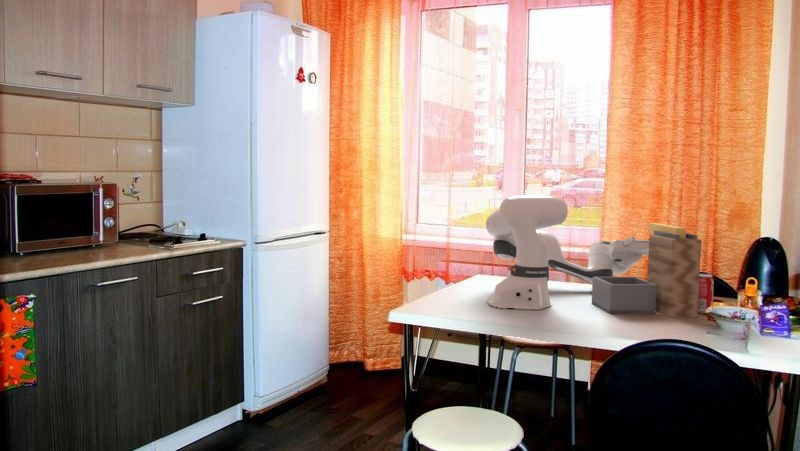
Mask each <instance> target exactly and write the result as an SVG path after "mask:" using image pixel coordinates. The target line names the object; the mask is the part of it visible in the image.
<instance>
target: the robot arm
mask: <svg viewBox="0 0 800 451" xmlns="http://www.w3.org/2000/svg"><path fill="white" fill-rule="evenodd" d="M568 212H569V210H568V205H567V203H566V201H565V200H564V198H563V199H562V197H557V196H552V195H514V196H510V197H505V198H504V199H503V200H502V202H501V203H500V206H499V208H498V209H496V210H494V212H492V213H491V214H490V215H489V216H488V217H487V218H486V221H485V229H486V230H487V232H488V233H489V235H491V236H494V241H493V243H492V245H493V246H492V247H493V253H494V255H495V256H496V257H497V258H500V259H502V260H507V261H508V260H515V262H516V263H515V264H513V265H512V264H508V265H507V266H506V269H507V270H508V271H509V272H510V275H508V276H507V277H506V278H504V279H503V280H501V281H500V282H499V283H497V284H496V286H495V287H494V291H493V297H488V298H487V300H486V303H487V305H489V306H490V305H491V307H492V306H494V307H493V308H496V307H497V308H496V309H507V308H514V309H513V310H532V309H533V310H534V311H535V310H537V311H540V310H543V309H546V308H549V307H551V306H552V303H551V299H550V295H549V294H550V293H549V285H548V284H549V283H548V282H549V279H550V268H551V269H553V270H555V271H558V272H560V273H562V274H566V275H569V276H571V277H574V278H577V279H579V280H582V281H584V282H587V283H589V284H590V285H592V284H593V277H614V276H618V275H622V274H625V273H626V272H628V271H629V270H630V269H631V268H632V267H633V266H635V265H636V264H637V263H638V262H640V261H641V259H642V257H643V256H648V254H649V239H636V238H635V236H630V237H629V238H627V239H614V240H612V241H611V242H610V241H607V240H600V241H597V242H594V243H592V244H591V245H589V250H588V261H587V267H585V266H582V265H579V264H576V263H573V262H571V261H569V260H567V259H566V258H565V256H564V254H563V250H562V247H561V244H560V241H559V239H558V238H557V237H556V235H555V234H553V233H551V232H549V231H545V230H539V229H544V228H549V227H554V226H558V225H562V224H564V222H565V221H566V219H567V217H568V214H569V213H568Z"/></svg>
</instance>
